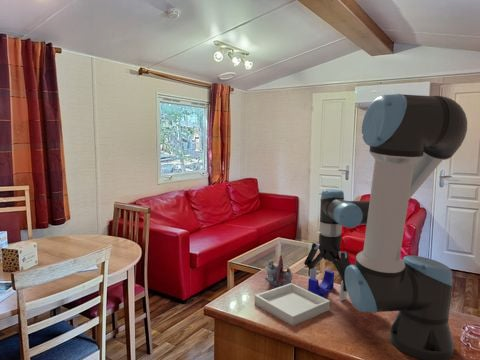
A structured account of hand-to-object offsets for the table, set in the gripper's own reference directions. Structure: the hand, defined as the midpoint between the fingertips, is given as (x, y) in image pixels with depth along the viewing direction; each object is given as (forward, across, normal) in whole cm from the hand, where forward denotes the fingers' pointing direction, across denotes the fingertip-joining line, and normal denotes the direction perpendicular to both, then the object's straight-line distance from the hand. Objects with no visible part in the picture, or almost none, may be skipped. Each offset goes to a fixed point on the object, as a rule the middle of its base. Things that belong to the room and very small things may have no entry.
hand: (327, 292), depth 125 cm
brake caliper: (0, +16, +8) cm, 18 cm away
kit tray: (0, 0, +18) cm, 18 cm away
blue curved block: (0, +1, +1) cm, 2 cm away
